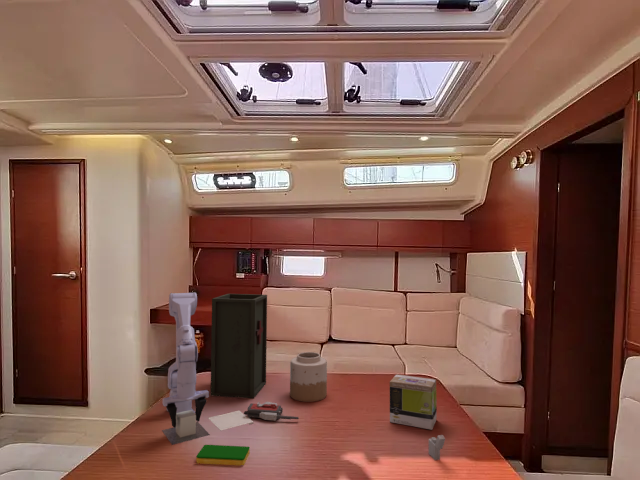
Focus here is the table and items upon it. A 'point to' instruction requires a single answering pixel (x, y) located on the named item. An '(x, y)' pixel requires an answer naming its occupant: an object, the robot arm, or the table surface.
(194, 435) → the post base
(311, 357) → the vase
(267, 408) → the chainsaw
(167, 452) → the table surface
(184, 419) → the pale grey cube box
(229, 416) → the mat
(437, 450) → the lighter
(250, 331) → the dark green tall box
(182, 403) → the robot arm
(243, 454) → the dish sponge
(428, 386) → the tea box
